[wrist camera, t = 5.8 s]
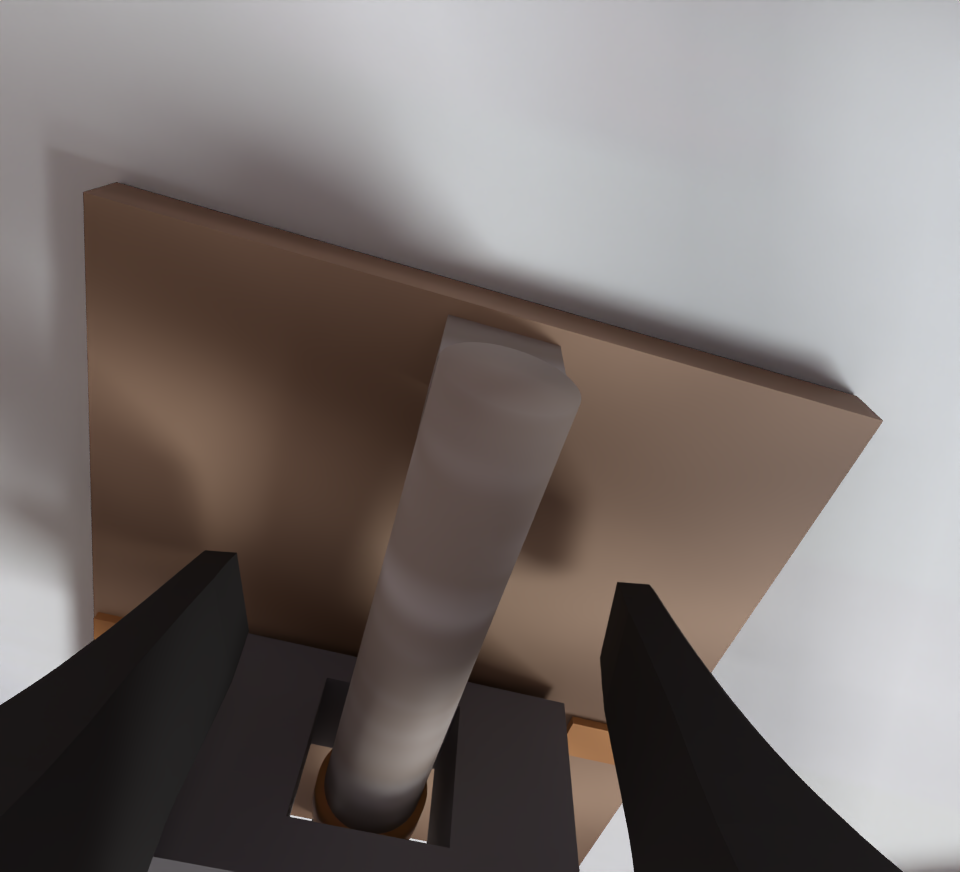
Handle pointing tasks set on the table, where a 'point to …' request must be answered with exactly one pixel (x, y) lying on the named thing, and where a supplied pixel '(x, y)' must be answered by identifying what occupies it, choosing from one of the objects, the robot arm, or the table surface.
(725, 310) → the table surface
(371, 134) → the table surface
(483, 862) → the collar
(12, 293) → the table surface
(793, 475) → the rod stand
